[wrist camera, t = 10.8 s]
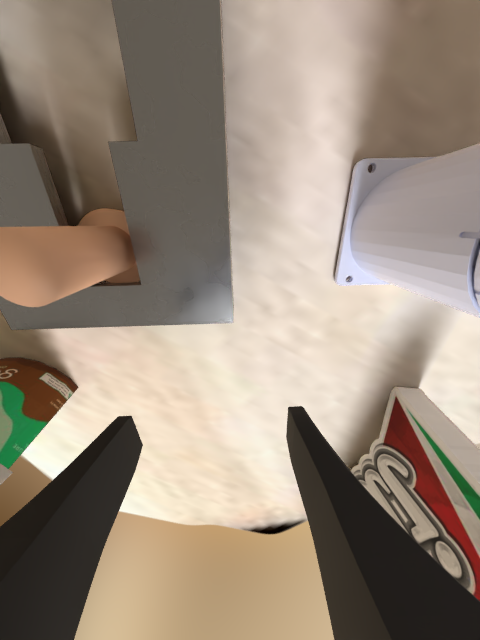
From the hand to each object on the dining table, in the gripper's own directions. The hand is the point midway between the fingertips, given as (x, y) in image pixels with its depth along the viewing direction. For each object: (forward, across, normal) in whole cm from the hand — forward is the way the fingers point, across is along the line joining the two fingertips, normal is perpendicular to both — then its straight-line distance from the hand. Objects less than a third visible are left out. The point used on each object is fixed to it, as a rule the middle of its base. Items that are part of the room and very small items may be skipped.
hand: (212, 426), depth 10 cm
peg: (+9, +7, -7) cm, 14 cm away
